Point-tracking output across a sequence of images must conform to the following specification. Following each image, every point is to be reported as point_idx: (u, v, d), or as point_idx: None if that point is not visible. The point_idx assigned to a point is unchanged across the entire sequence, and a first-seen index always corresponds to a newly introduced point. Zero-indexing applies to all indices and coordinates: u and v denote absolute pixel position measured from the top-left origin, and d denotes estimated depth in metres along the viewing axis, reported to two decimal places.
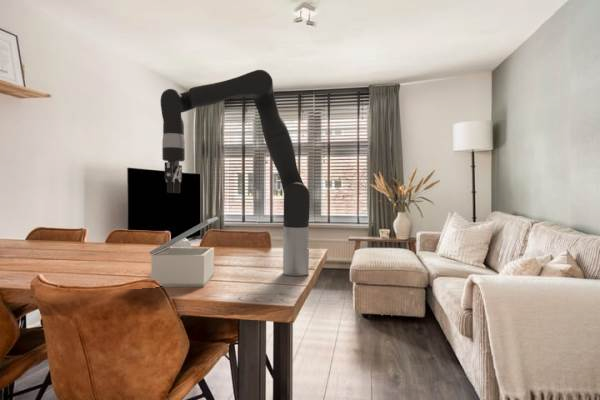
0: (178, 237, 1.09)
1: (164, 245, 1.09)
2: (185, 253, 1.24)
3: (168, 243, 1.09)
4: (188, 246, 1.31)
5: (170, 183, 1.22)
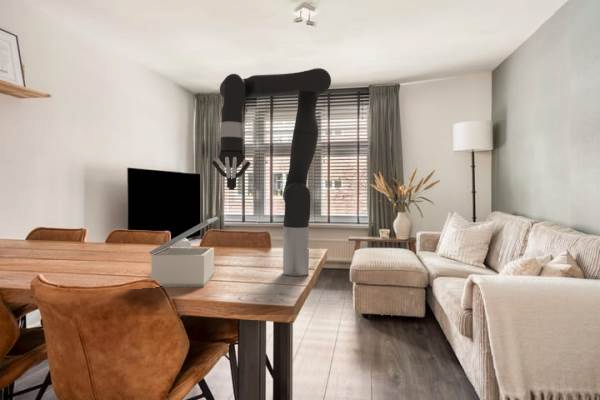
0: (178, 237, 1.09)
1: (164, 245, 1.09)
2: (185, 253, 1.24)
3: (168, 243, 1.09)
4: (188, 246, 1.31)
5: (235, 180, 1.18)
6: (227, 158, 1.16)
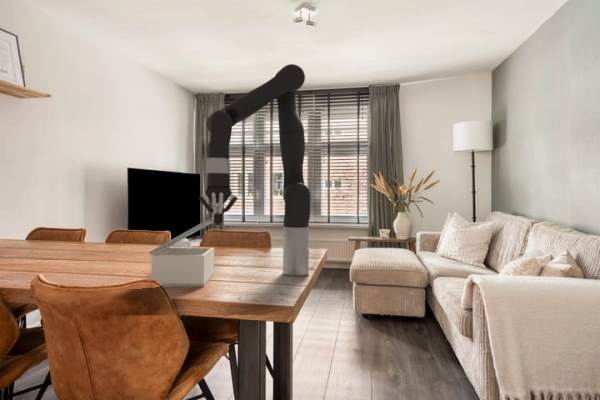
0: (178, 237, 1.09)
1: (164, 245, 1.09)
2: (185, 253, 1.24)
3: (168, 243, 1.09)
4: (188, 246, 1.31)
5: (222, 215, 1.18)
6: (214, 194, 1.16)
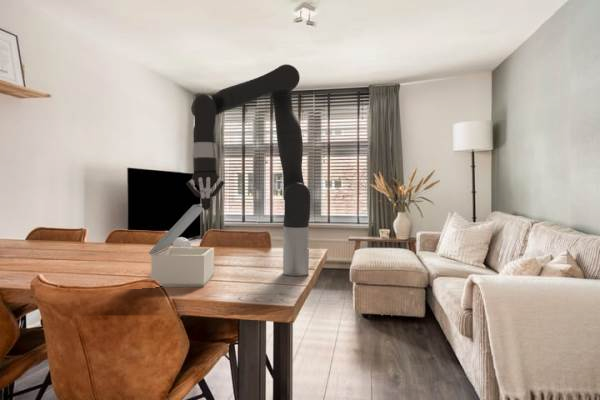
0: (171, 230, 1.09)
1: (160, 241, 1.09)
2: (185, 253, 1.24)
3: (164, 238, 1.09)
4: (188, 246, 1.31)
5: (210, 200, 1.18)
6: (200, 179, 1.15)
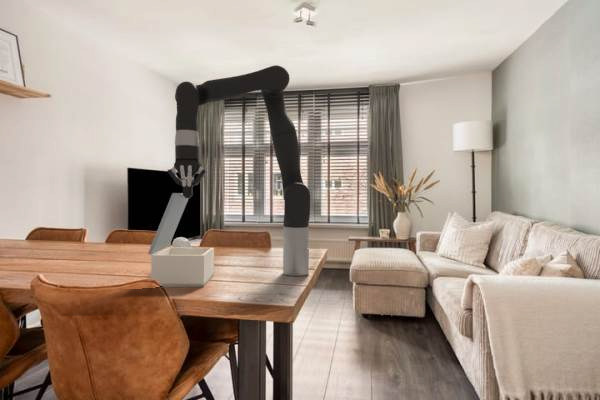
0: (161, 224, 1.09)
1: (155, 239, 1.09)
2: (185, 253, 1.24)
3: (157, 235, 1.09)
4: (188, 246, 1.31)
5: (192, 188, 1.18)
6: (182, 166, 1.15)
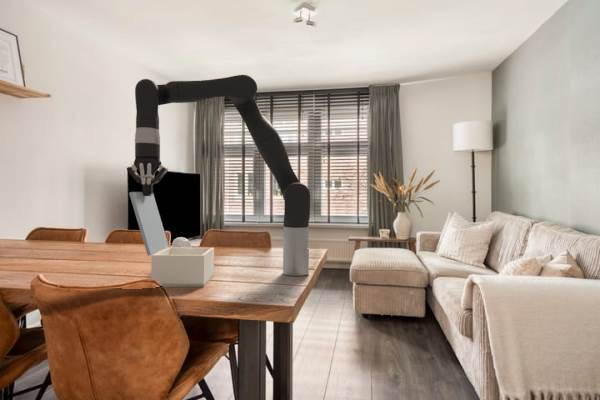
0: (140, 224, 1.08)
1: (144, 239, 1.09)
2: (185, 253, 1.24)
3: (143, 235, 1.09)
4: (188, 246, 1.31)
5: (152, 186, 1.17)
6: (141, 164, 1.15)
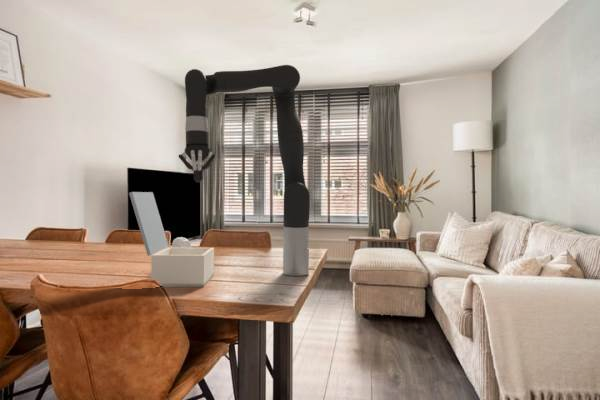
0: (140, 224, 1.08)
1: (144, 239, 1.09)
2: (185, 253, 1.24)
3: (143, 235, 1.09)
4: (188, 246, 1.31)
5: (202, 172, 1.22)
6: (193, 151, 1.19)
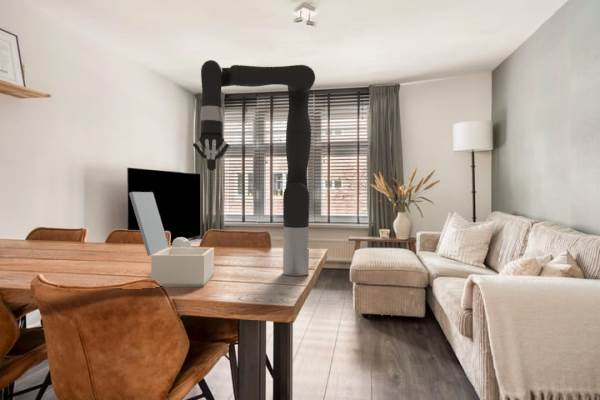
0: (140, 224, 1.08)
1: (144, 239, 1.09)
2: (185, 253, 1.24)
3: (143, 235, 1.09)
4: (188, 246, 1.31)
5: (215, 161, 1.25)
6: (207, 140, 1.22)
